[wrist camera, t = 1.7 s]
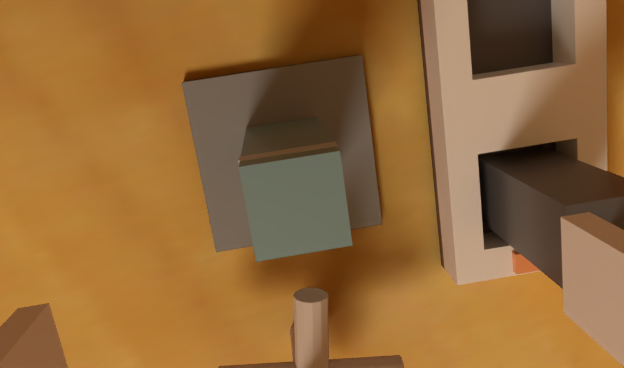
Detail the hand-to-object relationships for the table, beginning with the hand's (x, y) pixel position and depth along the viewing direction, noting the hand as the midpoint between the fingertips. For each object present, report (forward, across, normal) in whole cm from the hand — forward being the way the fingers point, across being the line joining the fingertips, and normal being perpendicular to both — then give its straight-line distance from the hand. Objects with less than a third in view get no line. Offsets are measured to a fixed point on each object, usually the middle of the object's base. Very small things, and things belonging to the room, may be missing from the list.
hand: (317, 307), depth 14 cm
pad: (+19, 0, 0) cm, 19 cm away
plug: (+18, 0, 0) cm, 18 cm away
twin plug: (+19, +13, -4) cm, 23 cm away
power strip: (+19, +13, +1) cm, 23 cm away
